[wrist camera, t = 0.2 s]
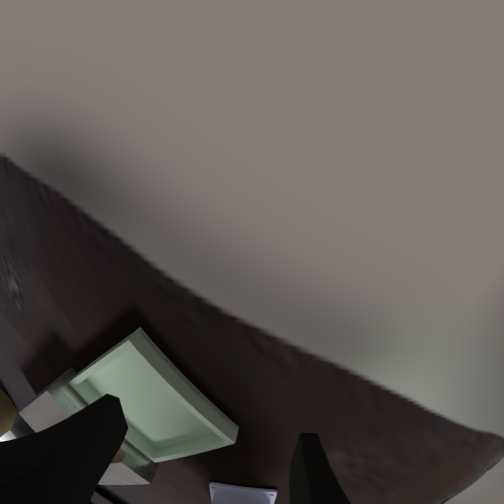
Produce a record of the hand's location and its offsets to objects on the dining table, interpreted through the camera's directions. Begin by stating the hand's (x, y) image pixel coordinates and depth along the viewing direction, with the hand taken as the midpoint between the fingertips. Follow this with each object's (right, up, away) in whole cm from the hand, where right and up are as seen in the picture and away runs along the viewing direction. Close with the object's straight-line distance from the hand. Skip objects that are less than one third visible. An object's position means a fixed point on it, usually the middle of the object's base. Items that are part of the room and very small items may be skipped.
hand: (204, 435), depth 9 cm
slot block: (-18, -14, +16) cm, 28 cm away
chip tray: (-7, -7, +13) cm, 16 cm away
